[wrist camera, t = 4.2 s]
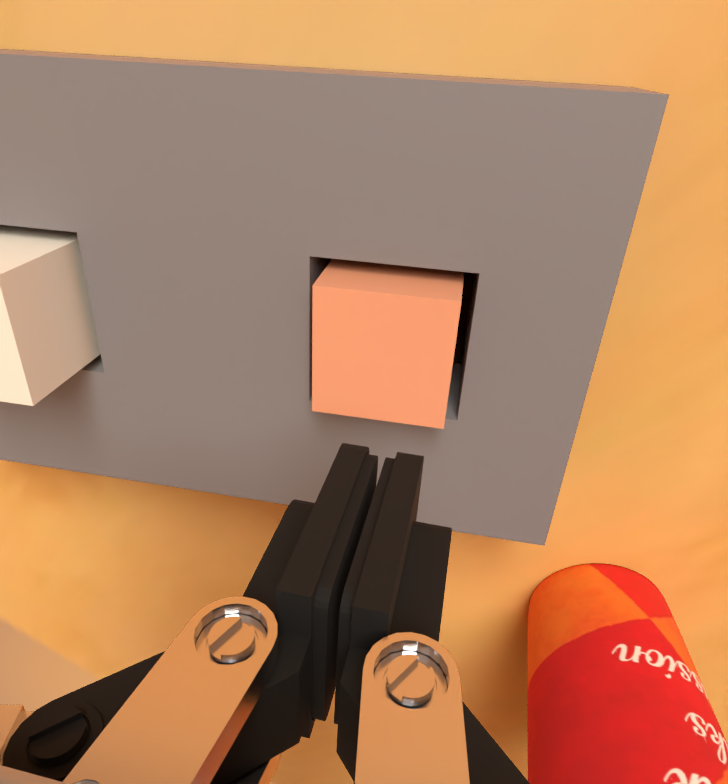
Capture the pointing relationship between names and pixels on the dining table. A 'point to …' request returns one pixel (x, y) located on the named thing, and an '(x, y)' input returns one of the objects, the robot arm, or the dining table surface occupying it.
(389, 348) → the peach square button
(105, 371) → the button panel
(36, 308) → the cream cube block
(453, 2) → the dining table surface
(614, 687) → the coffee cup
